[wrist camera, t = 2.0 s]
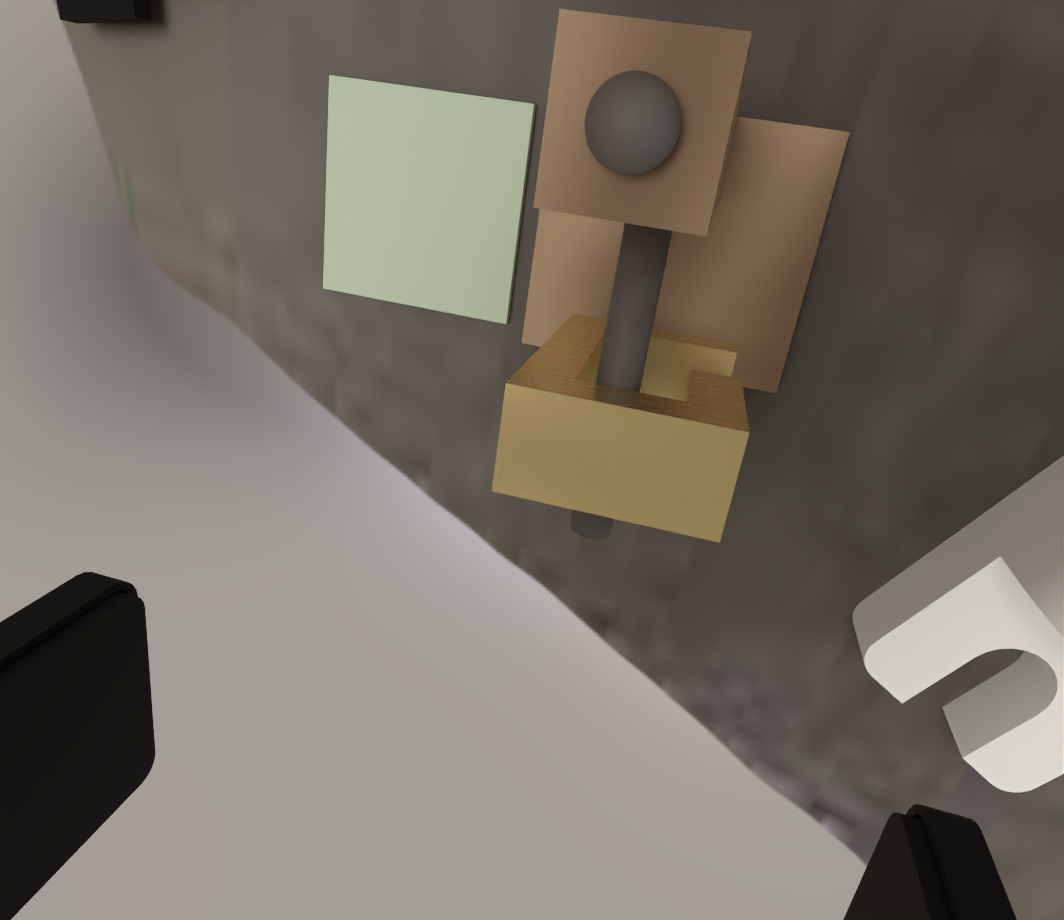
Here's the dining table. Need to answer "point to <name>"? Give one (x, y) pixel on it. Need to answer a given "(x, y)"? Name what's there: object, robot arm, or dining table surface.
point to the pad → (425, 196)
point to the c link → (626, 431)
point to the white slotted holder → (985, 632)
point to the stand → (671, 201)
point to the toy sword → (104, 11)
